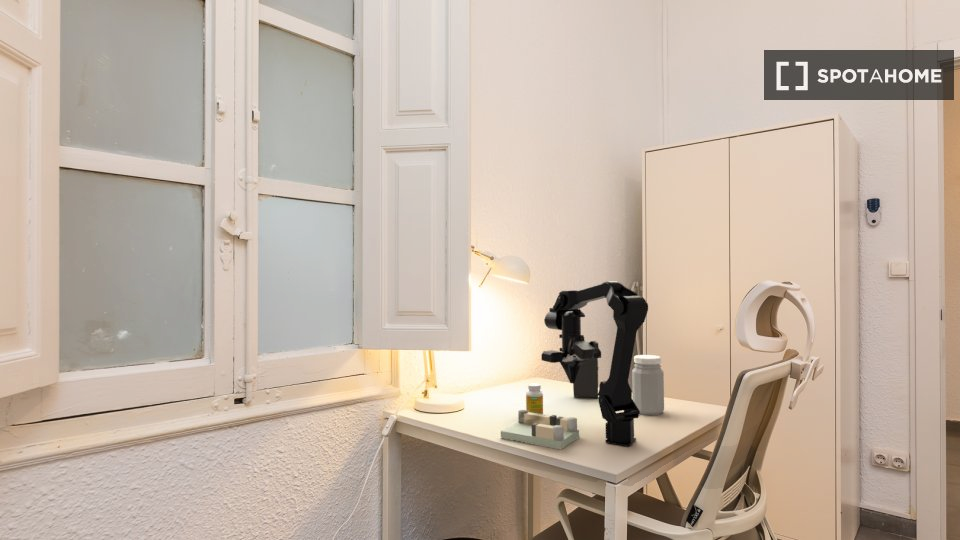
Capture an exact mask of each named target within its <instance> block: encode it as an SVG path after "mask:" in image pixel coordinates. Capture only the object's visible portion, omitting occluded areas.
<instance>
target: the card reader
mask: <svg viewBox="0 0 960 540" xmlns="http://www.w3.org/2000/svg"><path fill="white" fill-rule="evenodd" d="M584 360H587V361H586V362H584V363H583V364H582V365H581V366H580V368H579V371H578V374H577V377H576V379H575V382H574V383H572V388H573V389H572V390H573V398H576V399H597V398H598V399H599V396H598V393H599V358H592V359H590V358H586V359H584Z"/></svg>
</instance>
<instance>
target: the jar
mask: <svg viewBox="0 0 960 540" xmlns="http://www.w3.org/2000/svg"><path fill="white" fill-rule="evenodd" d="M633 362H634V363H635V364H634V365H633V366H634V368H633V369H632V371H631V385H632V386H631V387H632V388H631V390H632V400H633V401H634V403H635V404H636V406H637V408H638V409H639V411H640V414H639V415H642V414H643V415H644V416H659V415H661V414H662V413H663V411H664V410H665V381H664V380H665V379H664V376H665V375H664V371H663V369H662V368H661V367H662V365H660V364H661V363H662V357H661V356H659V355H654V354H636V355H635V356H633Z"/></svg>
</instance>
